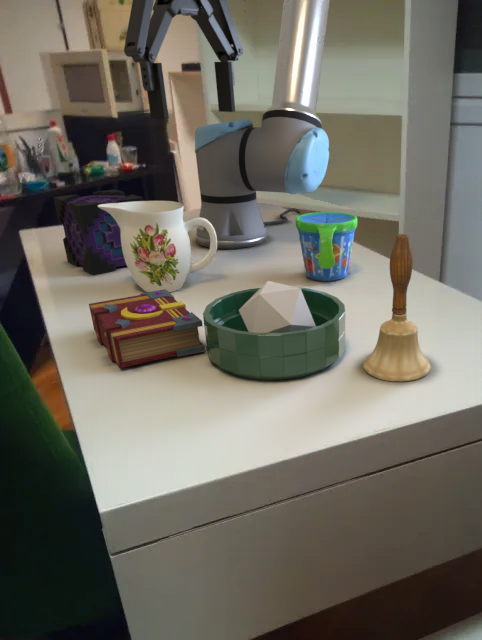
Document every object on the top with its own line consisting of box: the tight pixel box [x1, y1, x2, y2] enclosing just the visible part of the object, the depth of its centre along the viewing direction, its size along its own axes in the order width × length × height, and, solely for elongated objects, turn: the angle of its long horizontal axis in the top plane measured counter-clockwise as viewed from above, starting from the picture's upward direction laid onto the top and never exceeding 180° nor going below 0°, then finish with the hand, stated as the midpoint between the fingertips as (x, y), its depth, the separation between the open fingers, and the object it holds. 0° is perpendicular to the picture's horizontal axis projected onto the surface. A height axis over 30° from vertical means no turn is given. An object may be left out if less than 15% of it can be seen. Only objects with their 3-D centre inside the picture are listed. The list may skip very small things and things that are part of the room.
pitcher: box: [98, 200, 218, 293], centre depth 98 cm, size 11×18×14 cm, turn 104°
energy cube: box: [52, 189, 144, 276], centre depth 112 cm, size 12×12×12 cm
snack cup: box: [295, 211, 358, 282], centre depth 103 cm, size 16×10×10 cm
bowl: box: [202, 287, 346, 381], centre depth 76 cm, size 18×18×6 cm
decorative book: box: [88, 289, 207, 369], centre depth 80 cm, size 11×16×5 cm
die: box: [239, 280, 316, 333], centre depth 75 cm, size 8×9×10 cm
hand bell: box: [362, 233, 432, 383], centre depth 69 cm, size 8×8×16 cm
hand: (195, 115), depth 86 cm, fingers open, 13 cm apart
